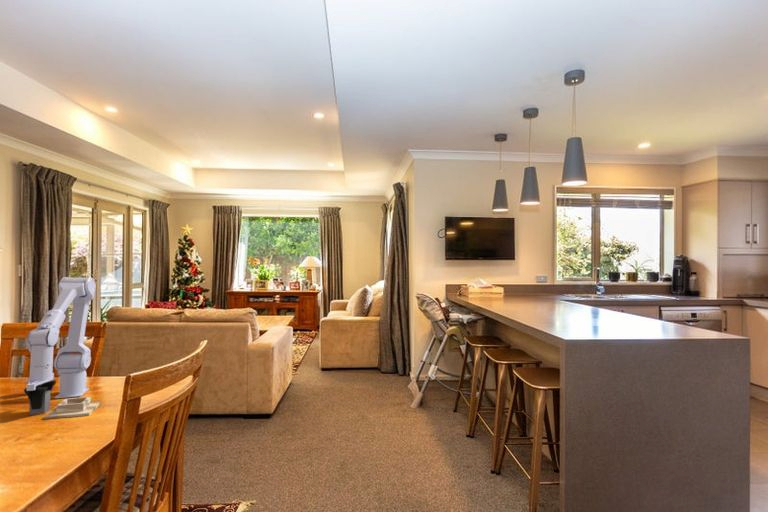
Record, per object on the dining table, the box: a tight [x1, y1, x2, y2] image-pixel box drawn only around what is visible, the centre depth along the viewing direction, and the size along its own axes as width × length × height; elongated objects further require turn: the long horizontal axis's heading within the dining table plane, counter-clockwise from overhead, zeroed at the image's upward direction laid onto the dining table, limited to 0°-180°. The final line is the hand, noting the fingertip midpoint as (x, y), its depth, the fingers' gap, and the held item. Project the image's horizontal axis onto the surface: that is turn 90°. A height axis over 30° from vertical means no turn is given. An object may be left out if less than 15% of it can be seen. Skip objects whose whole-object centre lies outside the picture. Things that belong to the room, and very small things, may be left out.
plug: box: [28, 390, 52, 416], centre depth 132 cm, size 4×4×6 cm
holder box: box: [43, 396, 102, 421], centre depth 133 cm, size 12×12×3 cm
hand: (39, 406), depth 132 cm, fingers open, 4 cm apart
